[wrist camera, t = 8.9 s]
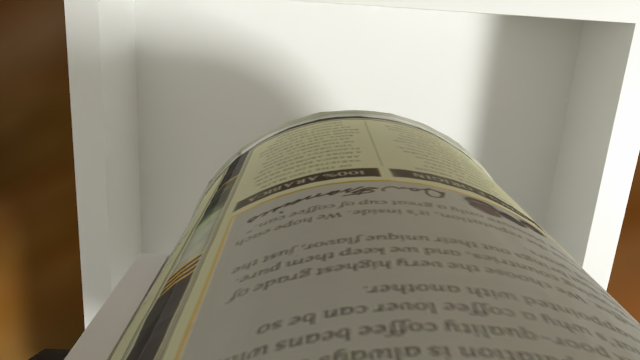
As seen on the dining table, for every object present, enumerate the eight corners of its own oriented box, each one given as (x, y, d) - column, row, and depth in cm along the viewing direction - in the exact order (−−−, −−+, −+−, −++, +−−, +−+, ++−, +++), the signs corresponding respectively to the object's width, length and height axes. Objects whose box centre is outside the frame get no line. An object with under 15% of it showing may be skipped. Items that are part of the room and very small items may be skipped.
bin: (521, 402, 26) (561, 480, 22) (130, 381, 26) (93, 456, 22) (603, -7, 21) (677, -10, 17) (114, -41, 21) (60, -53, 16)
